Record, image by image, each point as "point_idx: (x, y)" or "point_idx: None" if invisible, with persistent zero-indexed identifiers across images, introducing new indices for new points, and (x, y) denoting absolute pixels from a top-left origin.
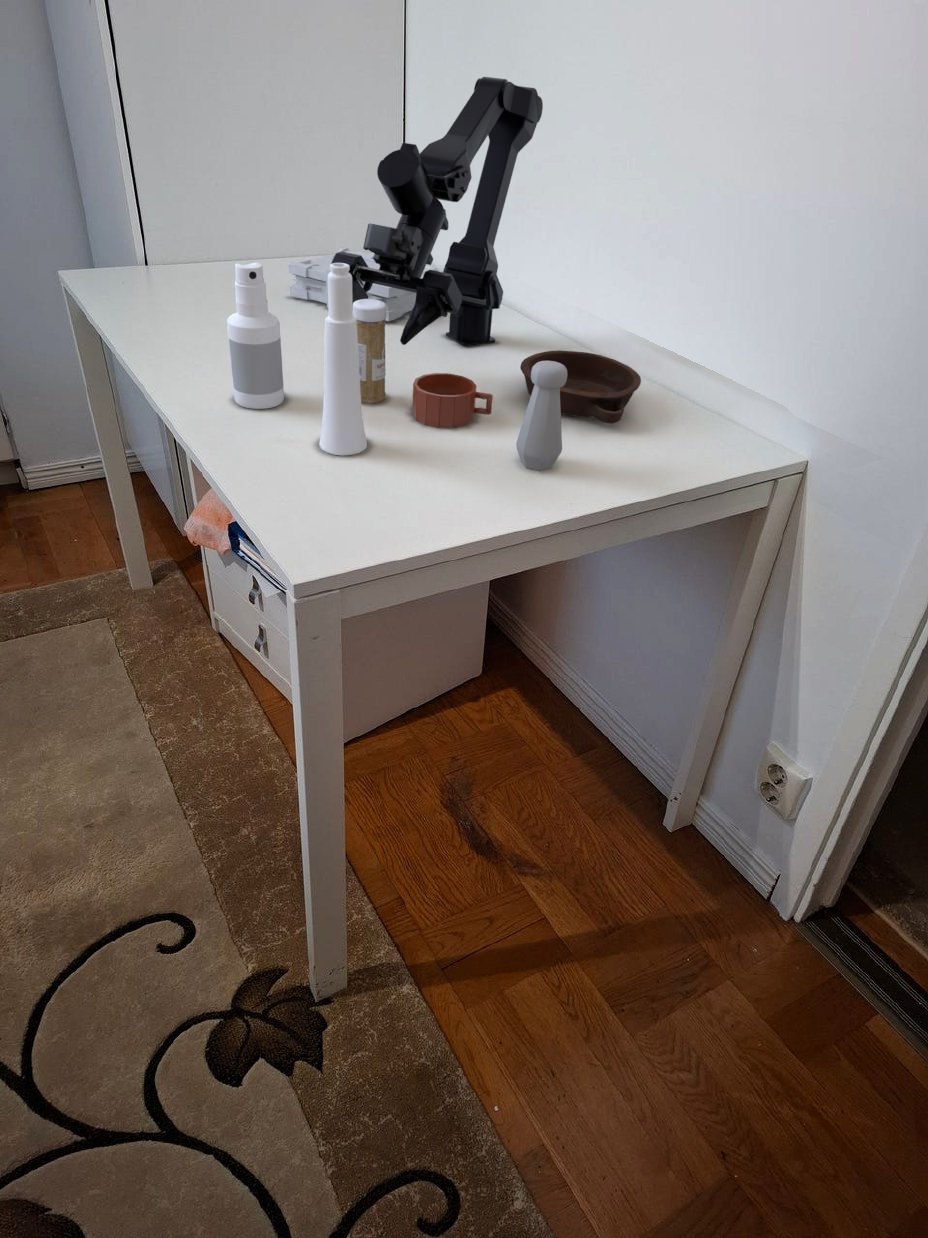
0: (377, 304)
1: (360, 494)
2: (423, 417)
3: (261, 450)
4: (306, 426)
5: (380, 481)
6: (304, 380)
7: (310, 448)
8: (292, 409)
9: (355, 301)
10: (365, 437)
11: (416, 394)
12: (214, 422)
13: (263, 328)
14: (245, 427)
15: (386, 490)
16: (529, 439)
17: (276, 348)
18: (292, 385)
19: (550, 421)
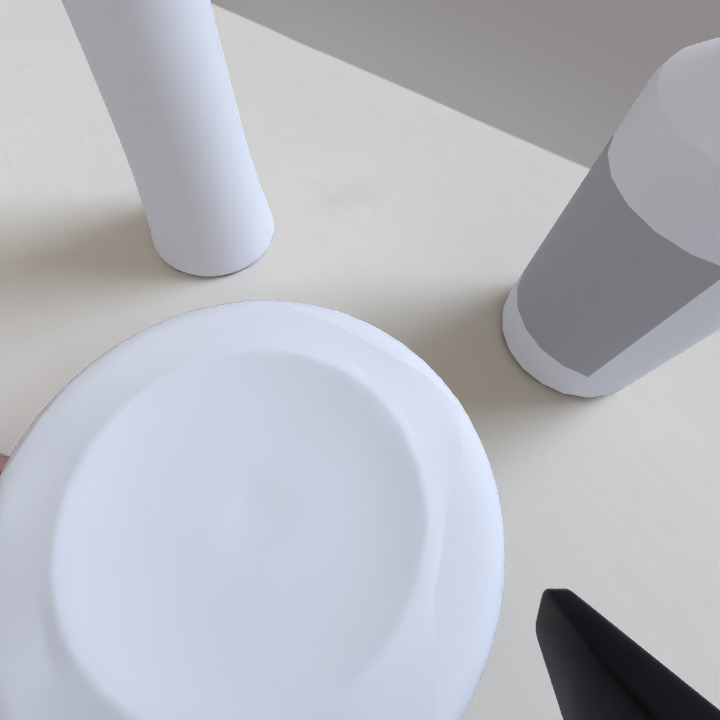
0: (101, 528)
1: (91, 103)
2: None
3: (360, 149)
4: (355, 271)
5: (67, 148)
6: (612, 562)
7: (278, 193)
8: (456, 335)
9: (471, 460)
10: (152, 234)
11: (6, 457)
12: (534, 196)
13: (656, 74)
14: (465, 206)
15: (43, 128)
16: None
17: (594, 210)
18: (600, 490)
19: None
